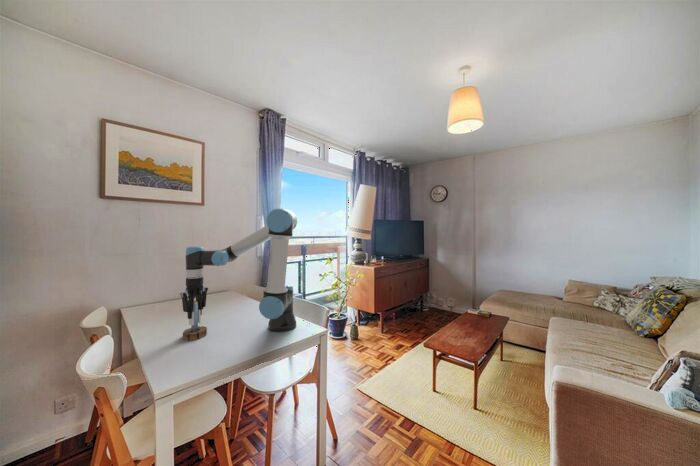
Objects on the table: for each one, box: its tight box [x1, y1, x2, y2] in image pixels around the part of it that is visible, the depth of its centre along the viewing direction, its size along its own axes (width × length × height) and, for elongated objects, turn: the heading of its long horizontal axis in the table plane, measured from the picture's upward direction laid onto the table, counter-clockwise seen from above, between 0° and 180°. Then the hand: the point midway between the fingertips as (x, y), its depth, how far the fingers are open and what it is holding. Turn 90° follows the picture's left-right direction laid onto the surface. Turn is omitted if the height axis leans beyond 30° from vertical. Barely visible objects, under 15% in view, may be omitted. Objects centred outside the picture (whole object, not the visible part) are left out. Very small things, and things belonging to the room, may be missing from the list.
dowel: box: [190, 300, 199, 332], centre depth 125 cm, size 3×3×15 cm
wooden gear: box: [182, 325, 208, 341], centre depth 125 cm, size 10×10×3 cm
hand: (194, 323), depth 125 cm, fingers closed on dowel, 3 cm apart
